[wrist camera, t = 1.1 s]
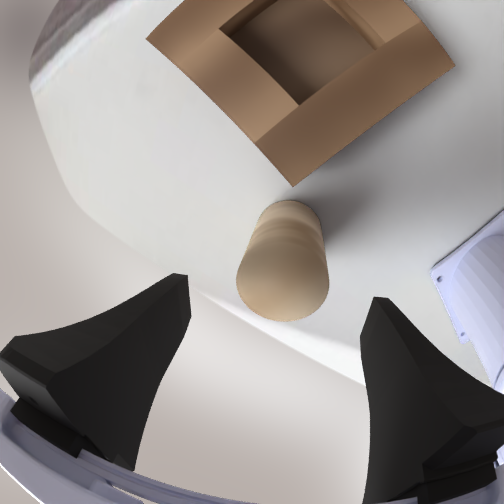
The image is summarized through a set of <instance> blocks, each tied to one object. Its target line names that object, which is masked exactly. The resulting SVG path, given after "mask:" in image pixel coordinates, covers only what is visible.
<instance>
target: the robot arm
mask: <svg viewBox="0 0 504 504" xmlns="http://www.w3.org/2000/svg"><path fill="white" fill-rule="evenodd" d="M430 276H431V278H432V280H433V282H434V284H435V286H436V288H437V290H438V292H439V294H440V296H441V298H442V300H443V303H444V305H445V307H446V309H447V312H448V314H449V316H450V318H451V321H452V323H453V326H454V328H455V331H456V333H457V336H458V338H459V341H460V343H461V344H465V343H467V342H468V341H471V343H472V345H473V347H474V349H475V351H476V353H477V355H478V357H479V359H480V361H481V363H482V365H483V367H484V369H485V371H486V373H487V376H488V378H489V380H490V382H491V385H492V387H493V389H492V388H491V387H489V386H487V385H485V384H484V383H482V382H480V381H479V380H477V379H476V378H474V377H473V376H471V375H470V374H468V373H467V372H465V371H464V370H463V369H461V368H460V367H459V366H457V365H456V364H455V363H453V362H452V361H451V360H450V359H449V358H447V357H446V356H445V355H444V354H443V353H442V352H440V351H439V350H438V349H437V348H436V347H435V346H434V345H433V344H432V343H431V342H430V341H429V340H428V339H427V338H426V337H425V336H424V335H423V334H422V333H421V332H420V331H419V330H418V329H417V328H416V327H415V326H414V325H413V324H412V322H411V321H410V320H409V319H408V318H407V317H406V316H405V315H404V314H403V313H402V312H401V311H400V309H399V308H398V307H397V306H396V305H395V304H394V303H393V302H392V301H391V300H390V299H389V298H383V297H373V300H372V303H371V306H370V309H369V312H368V315H367V318H366V321H365V324H364V327H363V329H362V332H361V335H360V347H361V360H362V366H363V372H364V377H365V383H366V389H367V395H368V401H369V410H370V452H369V464H368V474H367V481H366V487H365V493H364V498H363V503H362V504H504V210H503V211H502V212H501V213H500V214H499V215H497V216H496V217H495V218H494V219H493V220H492V221H491V222H489V223H488V224H487V225H486V226H485V227H484V228H482V229H481V230H480V231H479V232H478V233H476V234H475V235H474V236H473V237H472V238H470V239H469V240H468V241H467V242H465V243H464V244H463V245H462V246H460V247H459V248H458V249H456V250H455V251H454V252H453V253H451V254H450V255H449V256H447V257H446V258H445V259H443V260H442V261H441V262H439V263H438V264H437V265H435V266H434V267H433V268H432V269H431V271H430ZM439 276H441V277H440V279H437V278H438V277H439ZM190 319H191V307H190V297H189V286H188V275H182V274H176V273H173V274H171V275H169V276H167V277H165V278H164V279H162V280H160V281H159V282H157V283H155V284H154V285H152V286H151V287H149V288H147V289H146V290H144V291H142V292H141V293H139V294H137V295H136V296H134V297H132V298H130V299H128V300H127V301H125V302H123V303H121V304H119V305H118V306H116V307H114V308H112V309H110V310H108V311H106V312H103V313H101V314H99V315H96V316H94V317H92V318H89V319H87V320H84V321H81V322H78V323H75V324H72V325H69V326H66V327H63V328H59V329H55V330H51V331H47V332H42V333H36V334H29V335H22V336H15V337H14V338H13V339H12V340H11V341H10V342H9V343H8V344H7V345H6V347H5V348H4V349H3V350H2V351H1V352H0V371H1V373H2V374H3V376H4V377H5V378H6V380H7V381H8V383H9V384H10V385H11V387H12V388H13V389H14V391H15V392H16V393H17V395H18V396H19V397H20V398H19V399H18V400H17V402H15V401H14V400H13V399H12V398H11V397H10V396H9V395H8V394H6V393H5V392H4V391H3V390H1V389H0V466H1V467H2V468H3V469H4V470H5V471H6V472H7V473H8V474H9V475H10V476H11V477H12V478H13V479H14V480H15V481H16V482H17V483H18V484H19V485H20V486H22V487H23V488H24V489H25V490H26V491H27V492H28V493H29V494H31V495H32V496H33V497H34V498H35V499H37V500H38V501H39V502H40V503H41V504H144V503H143V502H142V501H141V500H138V499H136V498H134V497H132V496H130V495H128V494H125V493H123V492H121V491H119V490H117V489H115V488H114V487H113V486H115V487H118V488H120V489H122V490H124V491H127V492H129V493H132V494H134V495H137V496H139V497H142V498H144V499H147V500H150V501H153V502H156V503H159V504H257V503H249V502H242V501H235V500H230V499H224V498H219V497H214V496H210V495H206V494H201V493H197V492H193V491H189V490H186V489H182V488H178V487H174V486H172V485H168V484H165V483H162V482H159V481H156V480H153V479H150V478H148V477H144V476H142V475H139V474H136V473H134V472H133V471H134V470H135V464H136V460H137V455H138V451H139V446H140V442H141V439H142V435H143V431H144V428H145V424H146V421H147V418H148V415H149V412H150V409H151V406H152V403H153V400H154V398H155V395H156V392H157V389H158V387H159V385H160V382H161V380H162V378H163V376H164V374H165V372H166V370H167V368H168V366H169V365H170V363H171V361H172V359H173V357H174V355H175V353H176V351H177V349H178V347H179V345H180V343H181V342H182V340H183V338H184V335H185V333H186V330H187V327H188V324H189V321H190ZM112 485H113V486H112Z"/></svg>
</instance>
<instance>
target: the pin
mask: <svg viewBox="0 0 504 504" xmlns="http://www.w3.org/2000/svg"><path fill="white" fill-rule="evenodd" d="M236 284H237V290H238V292H239V295H240V297H241V299H242V300H243V302H244V303H245V304H246V305H247V307H248V308H250V309H251V310H252V311H253V312H255V313H256V314H258V315H260V316H262V317H264V318H267V319H270V320H274V321H283V322H284V321H295V320H299V319H302V318H305V317H307V316H309V315H311V314H312V313H314V312H315V311H316V310H317V309H318V308H319V307H320V306H321V305H322V304H323V302H324V301H325V299H326V297H327V294H328V291H329V275H328V268H327V261H326V255H325V248H324V242H323V235H322V229H321V224H320V221H319V219H318V217H317V215H316V214H315V213H314V211H313V210H312V209H310V208H309V207H308V206H306V205H305V204H302V203H300V202H297V201H290V200H287V201H280V202H277V203H274V204H272V205H270V206H269V207H268V208H266V209H265V210H264V211H263V213H262V214H261V216H260V217H259V220H258V222H257V224H256V227H255V229H254V232H253V234H252V237H251V239H250V242H249V244H248V247H247V249H246V251H245V254H244V256H243V259H242V261H241V264H240V266H239V269H238V272H237V277H236Z"/></svg>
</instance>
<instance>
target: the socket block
mask: <svg viewBox="0 0 504 504" xmlns="http://www.w3.org/2000/svg"><path fill="white" fill-rule="evenodd" d="M146 40H147V41H149V42H150V43H151V44H152V45H153V46H154V47H155V48H157V49H158V50H159V51H160V52H161V53H162V54H163V55H165V56H166V57H167V58H168V59H169V60H170V61H171V62H172V63H173V64H175V65H176V66H177V67H178V68H179V69H180V70H181V71H182V72H183V73H184V74H185V75H186V76H188V77H189V78H190V79H191V80H192V81H193V82H194V83H195V84H196V85H197V86H198V87H199V88H200V89H201V90H202V91H203V92H204V93H205V94H206V95H207V96H208V97H209V98H210V99H211V100H212V101H213V102H214V103H215V104H216V105H217V106H218V107H219V108H220V109H221V110H222V111H223V112H224V113H225V114H226V115H227V116H228V117H229V118H230V119H231V120H232V121H233V122H234V123H235V124H236V125H237V126H238V127H239V128H240V129H241V130H242V131H243V132H244V133H245V134H246V136H247V137H248V138H249V139H250V140H251V141H252V142H253V143H254V144H255V145H256V146H257V147H258V148H259V150H260V151H261V152H262V153H263V154H264V155H265V156H266V157H267V158H268V159H269V161H270V162H271V163H272V164H273V165H274V166H275V167H276V168H277V170H278V171H279V172H280V173H281V174H282V175H283V176H284V178H285V179H286V180H287V181H288V182H289V183H290V184H291V186H292V187H294V186H295V185H297V184H298V183H299V182H300V181H302V180H303V179H304V178H305V177H307V176H308V175H309V174H311V173H312V172H313V171H314V170H316V169H317V168H318V167H320V166H321V165H322V164H323V163H325V162H326V161H327V160H329V159H330V158H331V157H332V156H334V155H335V154H336V153H338V152H339V151H340V150H342V149H343V148H344V147H345V146H347V145H348V144H349V143H351V142H352V141H353V140H355V139H356V138H357V137H359V136H360V135H361V134H363V133H364V132H365V131H367V130H368V129H369V128H371V127H372V126H373V125H375V124H376V123H377V122H379V121H380V120H381V119H383V118H384V117H385V116H387V115H388V114H389V113H391V112H392V111H393V110H395V109H396V108H397V107H399V106H400V105H401V104H403V103H404V102H406V101H407V100H408V99H410V98H411V97H412V96H414V95H415V94H417V93H418V92H419V91H421V90H422V89H423V88H425V87H426V86H428V85H429V84H430V83H432V82H433V81H435V80H436V79H437V78H439V77H440V76H442V75H443V74H445V73H446V72H447V71H449V70H450V69H452V68H453V67H455V64H454V63H453V61H452V60H451V58H450V57H449V55H448V54H447V53H446V51H445V50H444V49H443V47H442V46H441V45H440V43H439V42H438V41H437V39H436V38H435V37H434V36H433V34H432V33H431V32H430V31H429V29H428V28H427V27H426V26H425V25H424V23H423V22H422V21H421V20H420V19H419V18H418V17H417V15H416V14H415V13H414V12H413V11H412V10H411V9H410V8H409V7H408V6H407V5H406V3H405V2H404V1H403V0H184V1H183V2H182V3H181V4H180V5H179V6H178V7H177V8H176V9H175V10H173V11H172V12H171V13H170V14H169V15H168V16H167V17H166V18H165V19H164V20H163V21H162V22H161V23H160V24H159V25H158V26H157V27H156V28H155V29H154V30H153V31H152V32H151V33H150V35H149V36H148V37H147V38H146Z"/></svg>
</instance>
